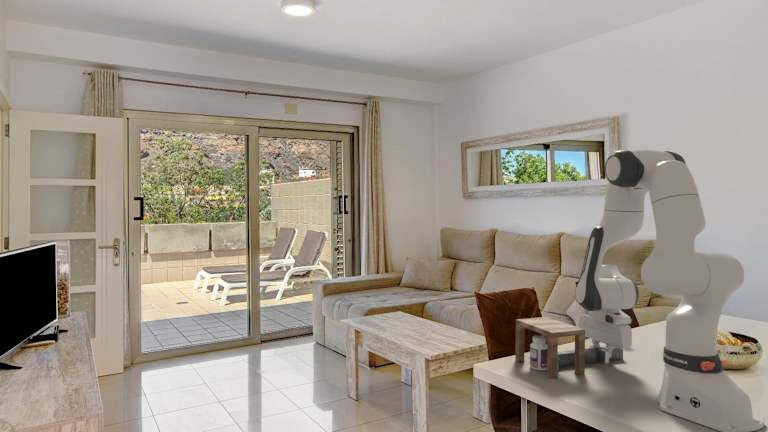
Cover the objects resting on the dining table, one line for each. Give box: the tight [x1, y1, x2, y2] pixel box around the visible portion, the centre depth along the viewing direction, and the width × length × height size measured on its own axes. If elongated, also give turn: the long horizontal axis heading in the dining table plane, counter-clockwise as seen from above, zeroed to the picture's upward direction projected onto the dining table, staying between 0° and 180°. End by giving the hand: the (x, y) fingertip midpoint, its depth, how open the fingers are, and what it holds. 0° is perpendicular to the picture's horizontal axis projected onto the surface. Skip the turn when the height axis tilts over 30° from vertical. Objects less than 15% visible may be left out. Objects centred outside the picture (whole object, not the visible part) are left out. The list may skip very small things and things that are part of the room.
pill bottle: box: [529, 335, 548, 372], centre depth 155 cm, size 5×5×10 cm
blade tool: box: [557, 345, 624, 372], centre depth 161 cm, size 8×30×4 cm, turn 109°
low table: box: [514, 316, 586, 380], centre depth 156 cm, size 18×12×14 cm, turn 20°
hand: (602, 355), depth 163 cm, fingers closed on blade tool, 2 cm apart
